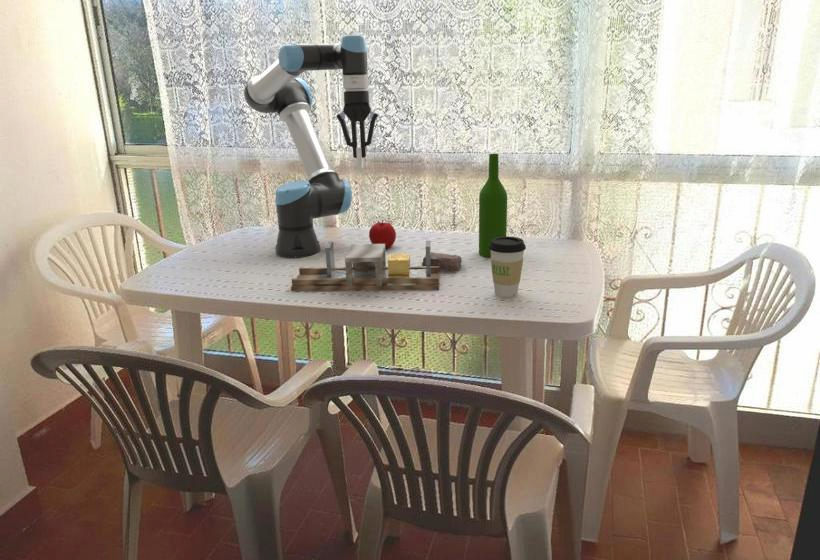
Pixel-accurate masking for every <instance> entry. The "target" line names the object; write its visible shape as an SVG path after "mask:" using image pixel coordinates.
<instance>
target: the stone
mask: <svg viewBox="0 0 820 560" xmlns="http://www.w3.org/2000/svg"><path fill="white" fill-rule="evenodd" d="M462 260H463V259H462V256H461V255H457V254H448V253H440V252H435V251H434V252H433V251H431V266H439V272H456V273H457V272H460V269H461V266H462ZM421 266H426V254H425V256H424V257H423V259H422V262H421Z"/></svg>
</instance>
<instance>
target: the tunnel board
mask: <svg viewBox="0 0 820 560" xmlns="http://www.w3.org/2000/svg"><path fill="white" fill-rule="evenodd" d="M344 264H345V265H344V266H345V267H342V266H340V267H339V266H338V267H337V266H335V270H346V278H327V267H299V268H298V273H299V274H298V276H297V277H296V278H292V279H291V286H290V291H291V292H302V291H304V292H313V291H314V292H315V291H316V292H318V291H319V292H320V291H321V292H323V291H324V292H325V291H326V292H327V291H330V292H331V291H333V292H335V291H417V290H418V291H421V290H423V291H430V290H431V291H433V290H440V271H439V266H431V277H416V278H382V270H388V266H387V259H386V248H385V244H372V243H364V244H363V243H352V244H351V245H350V247H349V249H348V251H347V253H346V256H345V257H344ZM410 269H426V266H422V265H420V266H419V265H418V266H410ZM352 270H376V278H353V273H352Z"/></svg>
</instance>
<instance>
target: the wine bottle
mask: <svg viewBox="0 0 820 560" xmlns="http://www.w3.org/2000/svg"><path fill="white" fill-rule="evenodd" d="M478 196H479V199H478V207H479V208H478V254H479V256H481V257H483V258H487V259H491V251H490V249H489V244H490V243H491V240H492V239H494V238H497V237H505V236H507V229H508V228H507V225H508V224H507V223H508V221H507V220H508V218H507V217H508V193H507V190H506V189H505V187H504V185H503V183H502V182H501V179H500V177H499V154H498V153H490V154H488V178H487V180H486V182H485V184H484V185H483V186H482V188H481V189H480V192H479V195H478Z"/></svg>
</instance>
